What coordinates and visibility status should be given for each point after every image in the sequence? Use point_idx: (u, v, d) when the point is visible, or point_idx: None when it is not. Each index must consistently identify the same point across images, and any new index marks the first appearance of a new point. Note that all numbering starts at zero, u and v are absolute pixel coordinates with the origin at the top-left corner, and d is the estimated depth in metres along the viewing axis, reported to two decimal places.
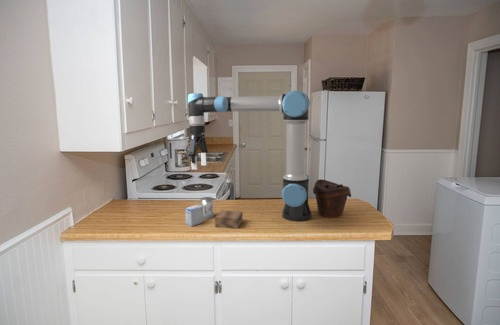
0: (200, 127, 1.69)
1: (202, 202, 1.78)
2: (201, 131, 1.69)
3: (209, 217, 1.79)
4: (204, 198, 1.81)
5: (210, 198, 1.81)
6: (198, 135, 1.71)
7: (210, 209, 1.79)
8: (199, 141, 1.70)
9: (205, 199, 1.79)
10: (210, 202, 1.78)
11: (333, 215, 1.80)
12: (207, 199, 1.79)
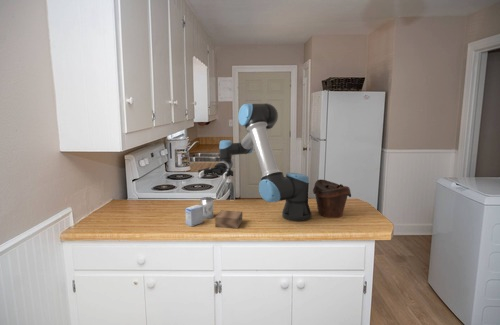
0: None
1: (202, 202, 1.78)
2: (216, 164, 2.04)
3: (209, 217, 1.79)
4: (204, 198, 1.81)
5: (210, 198, 1.81)
6: None
7: (210, 209, 1.79)
8: (214, 168, 2.00)
9: (205, 199, 1.79)
10: (210, 202, 1.78)
11: (333, 215, 1.80)
12: (207, 199, 1.79)
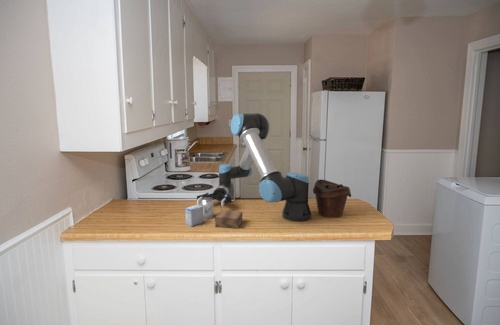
0: None
1: (202, 202, 1.78)
2: None
3: (209, 217, 1.79)
4: (204, 198, 1.81)
5: (210, 198, 1.81)
6: (215, 193, 2.02)
7: (210, 209, 1.79)
8: (212, 193, 2.00)
9: (205, 199, 1.79)
10: (210, 202, 1.78)
11: (333, 215, 1.80)
12: (207, 199, 1.79)
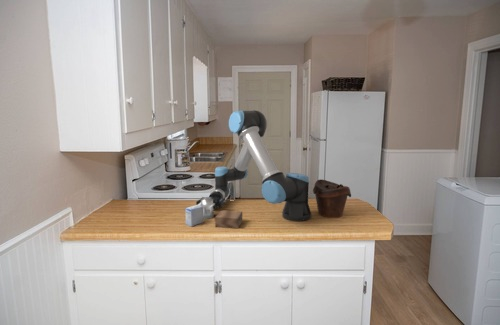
0: (212, 192, 1.97)
1: (202, 202, 1.78)
2: (211, 193, 1.95)
3: (209, 217, 1.79)
4: (204, 198, 1.81)
5: (210, 198, 1.81)
6: None
7: None
8: None
9: (205, 199, 1.79)
10: (210, 202, 1.78)
11: (333, 215, 1.80)
12: (207, 199, 1.79)
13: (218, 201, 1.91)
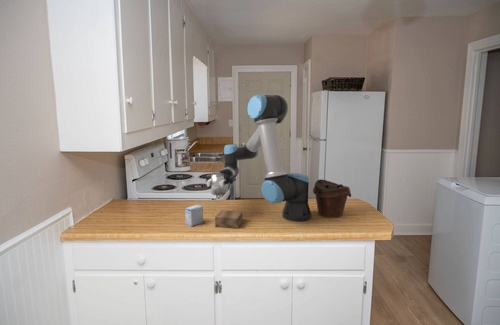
0: None
1: (213, 177, 1.71)
2: (221, 170, 1.88)
3: (220, 193, 1.71)
4: (214, 173, 1.73)
5: (221, 173, 1.73)
6: None
7: None
8: None
9: (216, 174, 1.71)
10: (221, 177, 1.71)
11: (333, 215, 1.80)
12: (218, 174, 1.71)
13: (228, 178, 1.84)
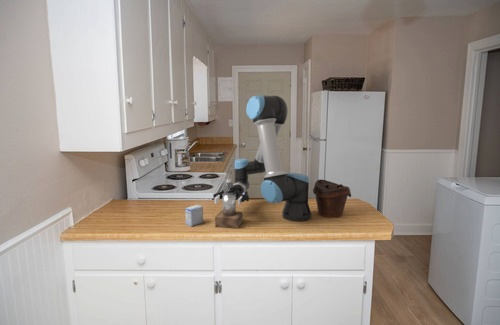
0: None
1: (224, 198, 1.66)
2: (232, 186, 1.83)
3: (231, 214, 1.68)
4: (226, 194, 1.69)
5: (232, 194, 1.69)
6: None
7: (233, 206, 1.67)
8: (229, 191, 1.79)
9: (227, 195, 1.67)
10: (233, 198, 1.67)
11: (333, 215, 1.80)
12: (229, 195, 1.67)
13: None
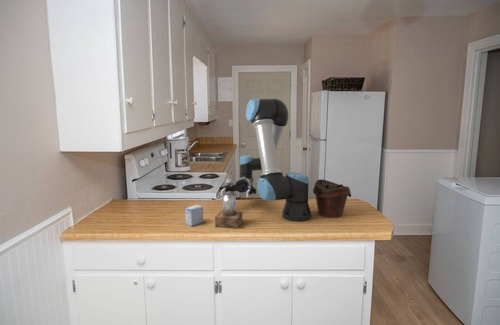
0: (238, 180, 1.99)
1: (224, 198, 1.67)
2: None
3: (231, 214, 1.68)
4: (226, 194, 1.69)
5: (232, 194, 1.69)
6: None
7: (233, 206, 1.67)
8: (235, 184, 1.92)
9: (227, 195, 1.68)
10: (233, 198, 1.67)
11: (333, 215, 1.80)
12: (229, 195, 1.68)
13: None
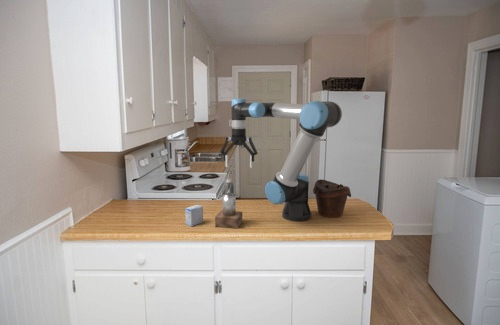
0: (233, 130, 1.83)
1: (224, 198, 1.67)
2: (233, 134, 1.83)
3: (231, 214, 1.68)
4: (226, 194, 1.69)
5: (232, 194, 1.69)
6: (235, 137, 1.85)
7: (233, 206, 1.67)
8: (233, 143, 1.85)
9: (227, 195, 1.68)
10: (233, 198, 1.67)
11: (333, 215, 1.80)
12: (229, 195, 1.68)
13: None
